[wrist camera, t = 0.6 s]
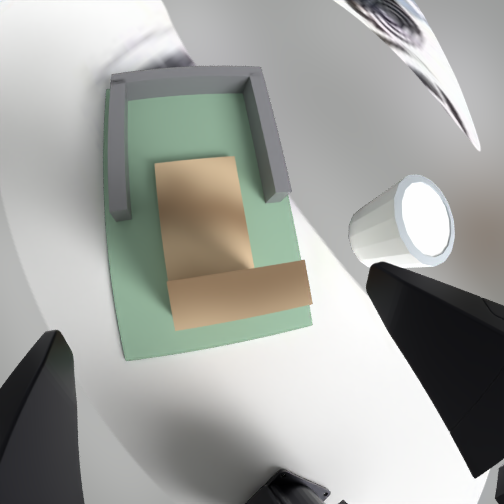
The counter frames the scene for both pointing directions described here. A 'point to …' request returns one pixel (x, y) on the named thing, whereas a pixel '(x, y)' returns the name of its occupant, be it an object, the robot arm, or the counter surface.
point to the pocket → (192, 84)
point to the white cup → (404, 226)
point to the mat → (149, 230)
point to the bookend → (217, 249)
